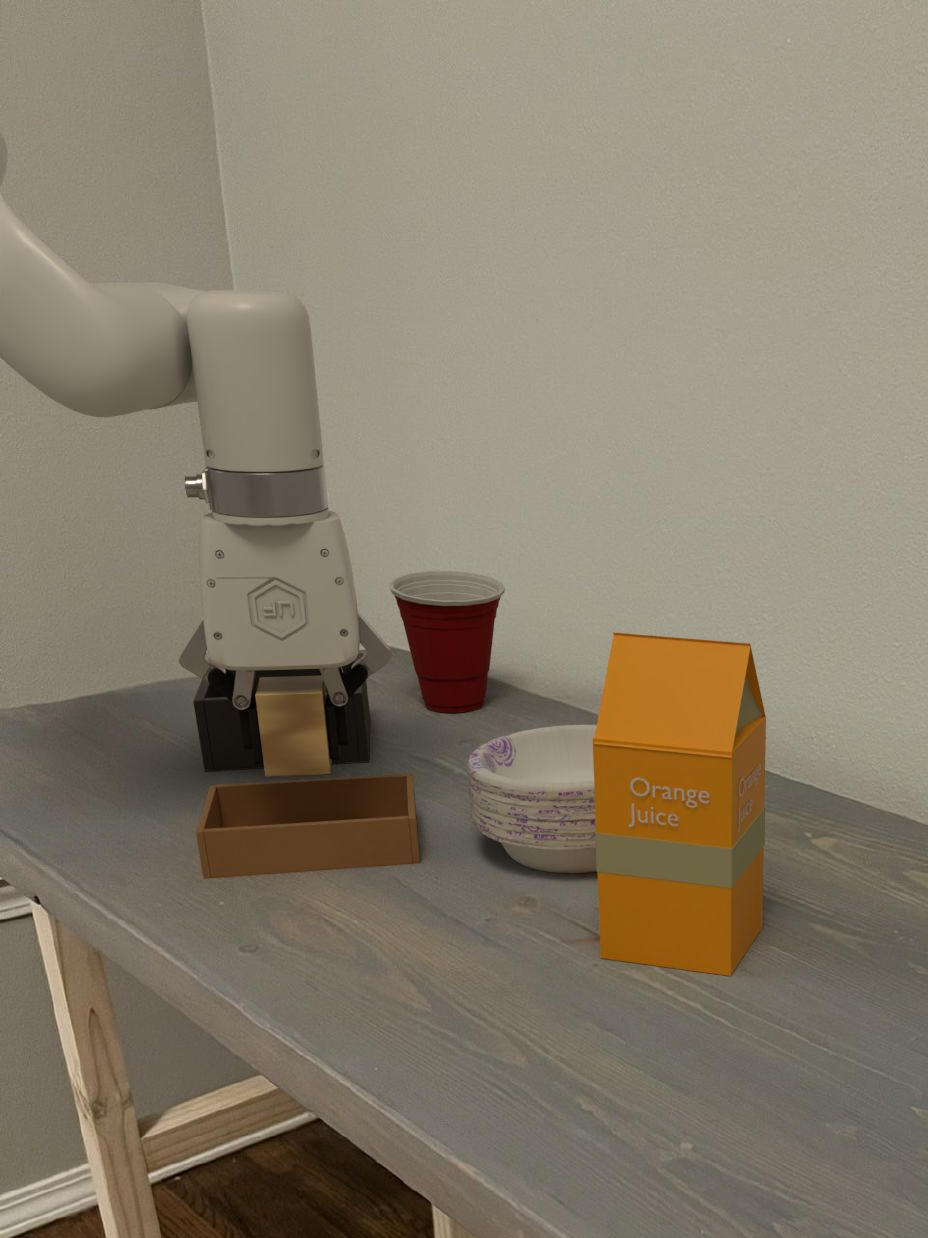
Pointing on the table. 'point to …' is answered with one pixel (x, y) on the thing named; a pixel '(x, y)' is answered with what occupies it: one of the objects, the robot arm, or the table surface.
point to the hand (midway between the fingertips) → (298, 754)
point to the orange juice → (680, 803)
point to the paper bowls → (538, 796)
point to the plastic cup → (449, 634)
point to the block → (293, 725)
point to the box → (308, 825)
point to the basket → (225, 734)
